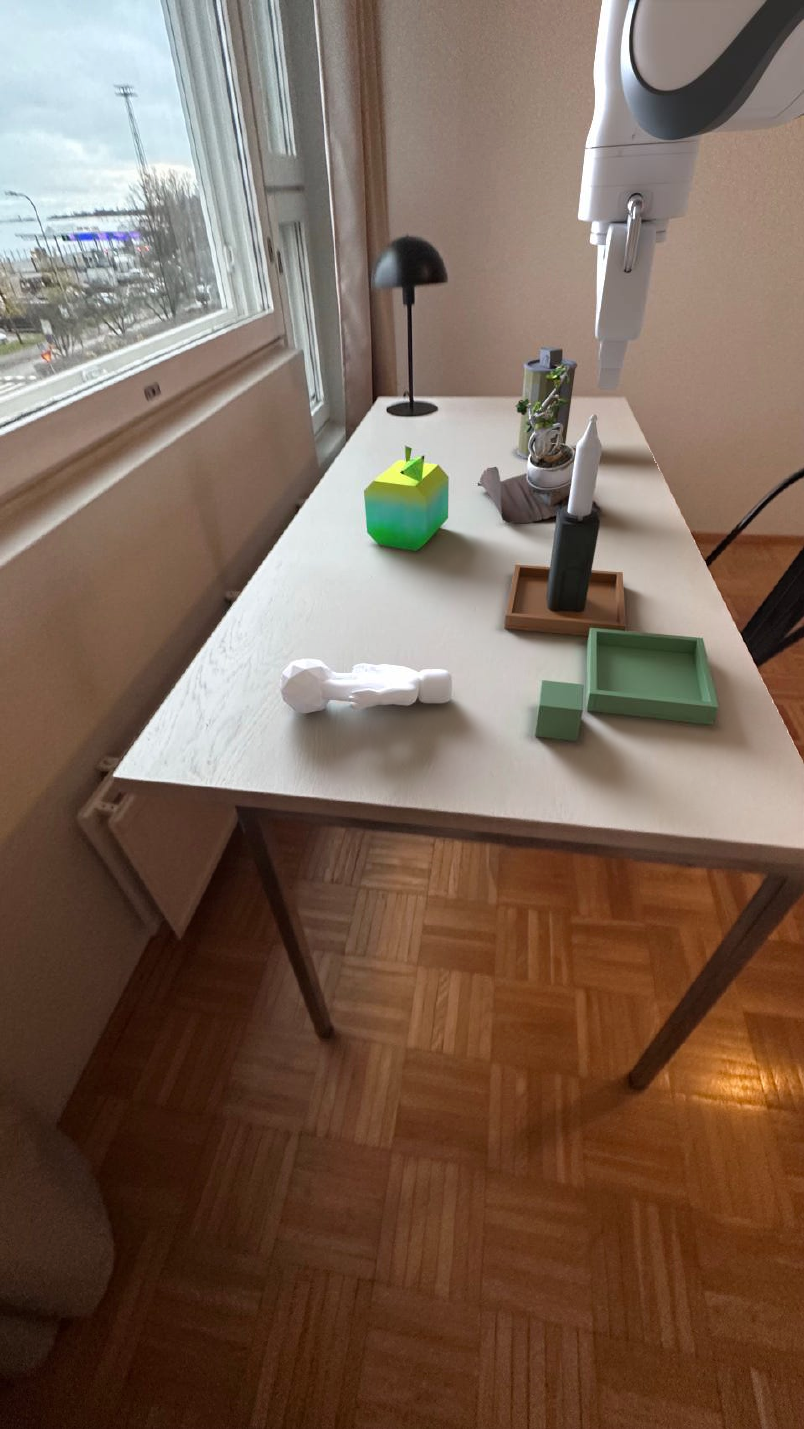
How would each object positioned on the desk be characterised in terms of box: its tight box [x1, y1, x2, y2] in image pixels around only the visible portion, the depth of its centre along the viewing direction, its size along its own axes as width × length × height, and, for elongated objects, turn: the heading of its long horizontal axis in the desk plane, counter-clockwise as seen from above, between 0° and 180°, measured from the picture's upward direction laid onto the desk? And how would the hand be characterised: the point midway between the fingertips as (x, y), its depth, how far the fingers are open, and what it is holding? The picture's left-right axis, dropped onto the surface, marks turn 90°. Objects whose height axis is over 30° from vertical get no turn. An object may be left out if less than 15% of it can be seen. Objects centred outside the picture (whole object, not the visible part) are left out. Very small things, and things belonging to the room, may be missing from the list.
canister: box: [516, 345, 578, 460], centre depth 131 cm, size 11×10×20 cm
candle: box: [546, 414, 603, 612], centre depth 81 cm, size 5×5×25 cm
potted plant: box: [477, 364, 602, 525], centre depth 111 cm, size 20×19×25 cm
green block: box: [534, 679, 584, 742], centre depth 70 cm, size 4×4×4 cm
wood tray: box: [503, 564, 627, 637], centre depth 89 cm, size 16×15×2 cm
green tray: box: [585, 628, 719, 726], centre depth 76 cm, size 14×14×3 cm
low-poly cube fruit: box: [363, 445, 450, 552], centre depth 104 cm, size 11×10×15 cm
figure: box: [278, 658, 453, 714], centre depth 73 cm, size 11×7×20 cm
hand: (606, 375), depth 62 cm, fingers open, 8 cm apart
